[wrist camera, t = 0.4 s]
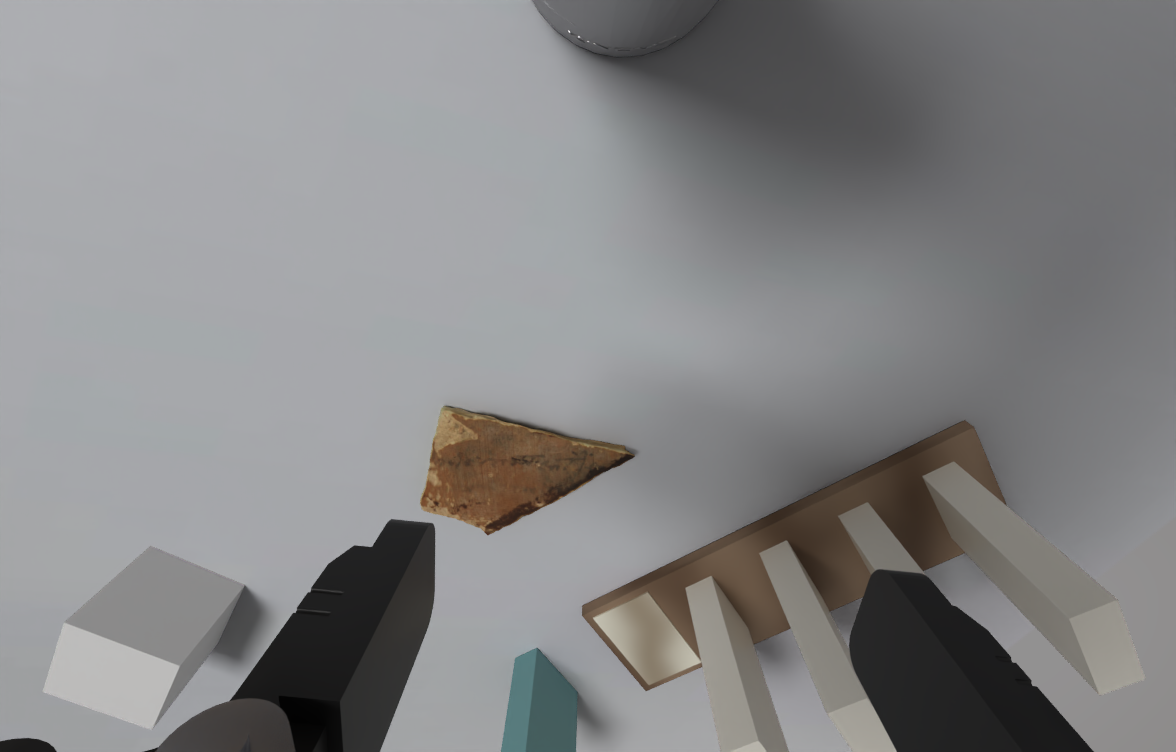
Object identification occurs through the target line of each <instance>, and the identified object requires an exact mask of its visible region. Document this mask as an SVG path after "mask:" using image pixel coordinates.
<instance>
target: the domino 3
mask: <svg viewBox="0 0 1176 752" xmlns="http://www.w3.org/2000/svg"><path fill="white" fill-rule="evenodd" d="M838 517H839V519H840V520H841V522H842V524H843V526H844V528H845V529H846V531H847V533H848V535H849V537H850V538H851V540H852V542H853V544H854V545H855V547H856V549H857V551H858V553H859V554H860V556H861V558H862V560H863V561H864V563H865V565H866V567H867V569H868V570H869V572H870V574H871V575H872V573H873V572H874V571H876V570H878V569H884V570H894V571H904V572H914V573H922V574H924V575H925V573H924V572H923V571H922V570H921V568H920V567H919V566H918V565H917V563H916V562H915V561H914V560H913V558H912V557H911V556H910V555H909V553H908V552H907V551H906V550H905V548H904V547H903V546H902V544H901V543H900V542H899V541H898V539H897V538H896V537H895V536H894V534H893V533H892V532H891V531H890V529H889V528H888V527H887V526H886V524H885V523H884V522H883V521H882V519H881V518H880V517H879V516H878V514H877V513H876V512H875V511H874V509H873V508H872V507H871V506H870V504H869V503H868V502H867V503H865V504H862V505H860V506H858V507H856V508H854V509H852V510H850V511H848V512H845V513H843V514H841V515H839V516H838Z"/></svg>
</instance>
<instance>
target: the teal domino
mask: <svg viewBox="0 0 1176 752" xmlns="http://www.w3.org/2000/svg"><path fill="white" fill-rule="evenodd" d="M577 693H578V692H577V691H576V690H575V689H574V688H573V687H572V686H571V685H570V683H569V682H568V681H567V680H566V679H565V678H564V677H563V676H562V675H561V674H560V672H559V671H558V670H557V669H556V668H555V667H554V666H553V665H552V664H551V663H550V661H549V660H548V659H547V658H546V657H545V656H544V655H543V654H542V653H541V652H540V651H539V649H538V648H536V649H534V650H531V651H529V652H527V653H525V654H523V655H521V656H519V657H517V658H515V663H514V670H513V677H512V683H511V690H510V696H509V703H508V709H507V716H506V722H505V729H504V736H503V742H502V749H501V752H576V730H577Z"/></svg>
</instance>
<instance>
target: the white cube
mask: <svg viewBox="0 0 1176 752" xmlns="http://www.w3.org/2000/svg"><path fill="white" fill-rule="evenodd" d="M244 586H245V585H244V584H241V583H239V582H237V581H234V580H232V579H229V578H227V577H225V576H222V575H220V574H217V573H215V572H213V571H210V570H208V569H205V568H203V567H201V566H198V565H196V564H193V563H191V562H188V561H186V560H184V559H181V558H179V557H176V556H174V555H172V554H169V553H167V552H164V551H162V550H160V549H157V548H155V547H152V546H150V547H149V548H147V549H146V550H145V551H144V552H143V553H142V554H141V555H140V556H138V557H137V558H136V559H135V560H134V561H133V562H132V563H131V564H129V565H128V566H127V567H126V568H125V569H124V570H123V571H122V572H120V573H119V574H118V575H117V576H116V577H115V578H114V579H112V580H111V581H110V582H109V583H108V584H107V585H106V586H105V587H103V588H102V589H101V590H100V591H99V592H98V593H97V594H96V595H94V596H93V597H92V598H91V599H90V600H89V601H88V602H87V603H85V604H84V605H83V606H82V607H81V608H80V609H79V610H78V611H76V612H75V613H74V614H73V615H72V616H71V617H70V618H69V619H67V620H66V621H65V622H64V624H63V627H62V631H61V634H60V637H59V640H58V644H57V647H56V650H55V653H54V657H53V660H52V663H51V666H50V669H49V673H48V676H47V679H46V682H45V686H44V689H43V692H44V693H47V694H50V695H53V696H56V697H59V698H61V699H64V700H67V701H70V702H73V703H76V704H79V705H81V706H84V707H87V708H90V709H93V710H96V711H99V712H101V713H104V714H107V715H110V716H113V717H116V718H119V719H122V720H124V721H127V722H130V723H133V724H136V725H139V726H142V727H144V728H147V729H150V730H152V729H153V728H154V727H155V725H156V724H157V723H158V722H159V720H160V719H161V718H162V716H163V715H164V714H165V712H166V711H167V710H168V708H169V707H170V706H171V704H172V703H173V702H174V701H175V699H176V698H177V697H178V695H179V694H180V693H181V691H182V690H183V689H184V687H185V686H186V685H187V684H188V682H189V681H190V680H191V678H192V677H193V676H194V674H195V673H196V672H197V670H198V669H199V668H200V666H201V665H202V664H203V663H204V661H205V660H206V659H207V657H208V656H209V655H210V653H211V652H212V651H213V649H214V648H215V647H216V646H217V644H218V642H219V640H220V638H221V636H222V634H223V631H224V629H225V627H226V625H227V623H228V621H229V619H230V616H231V614H232V612H233V610H234V608H235V606H236V603H237V601H238V599H239V597H240V595H241V593H242V591H243V588H244Z"/></svg>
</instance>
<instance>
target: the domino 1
mask: <svg viewBox="0 0 1176 752" xmlns="http://www.w3.org/2000/svg"><path fill="white" fill-rule="evenodd" d="M685 589H686V593H687V598H688V602H689V607H690V612H691V616H692V621H693V626H694V630H695V635H696V639H697V644H698V649H699V653H700V658H701V662H702V667H703V672H704V676H705V681H706V685H707V690H708V695H709V699H710V704H711V708H712V713H713V718H714V722H715V727H716V731H717V736H718V741H719V745H720V750H721V752H789V750H788V747H787V744H786V741H785V738H784V735H783V732H782V729H781V726H780V723H779V720H778V717H777V714H776V711H775V708H774V705H773V702H772V699H771V696H770V693H769V690H768V687H767V684H766V681H765V678H764V675H763V672H762V669H761V666H760V663H759V660H758V657H757V654H756V651H755V648H754V645H753V642H752V639H751V636H750V633H749V630H748V627H747V626H746V624H745V623H744V621H743V620H742V619H741V617H740V616H739V614H738V613H737V612H736V610H735V609H734V607H733V606H732V604H731V603H730V602H729V600H728V599H727V597H726V596H725V594H724V593H723V592H722V590H721V589H720V587H719V586H718V584H717V583H716V582H715V580H714V579H713V577H712V576H710V577H708V578H705V579H703V580H701V581H699V582H697V583H695V584H693V585H691V586H688V587H686V588H685Z"/></svg>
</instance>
